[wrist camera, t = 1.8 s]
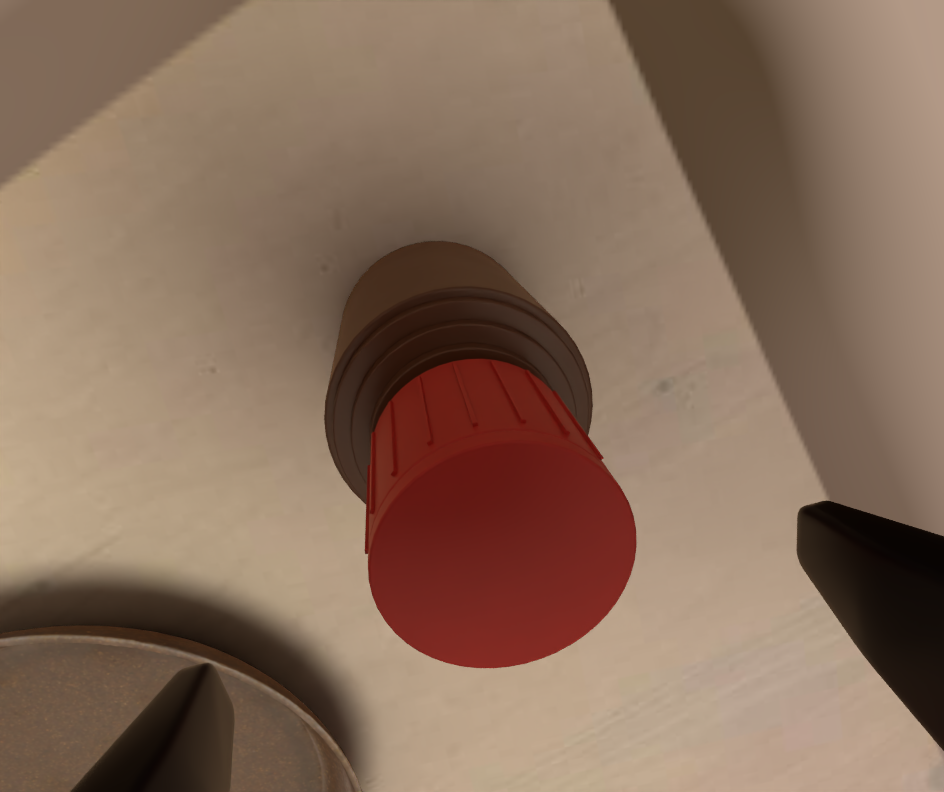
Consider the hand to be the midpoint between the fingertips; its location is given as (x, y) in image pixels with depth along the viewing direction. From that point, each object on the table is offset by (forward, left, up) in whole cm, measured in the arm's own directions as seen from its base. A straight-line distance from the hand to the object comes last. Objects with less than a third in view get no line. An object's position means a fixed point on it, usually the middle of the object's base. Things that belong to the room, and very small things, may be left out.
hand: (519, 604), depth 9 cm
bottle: (0, 0, -13) cm, 13 cm away
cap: (0, 0, -5) cm, 5 cm away
